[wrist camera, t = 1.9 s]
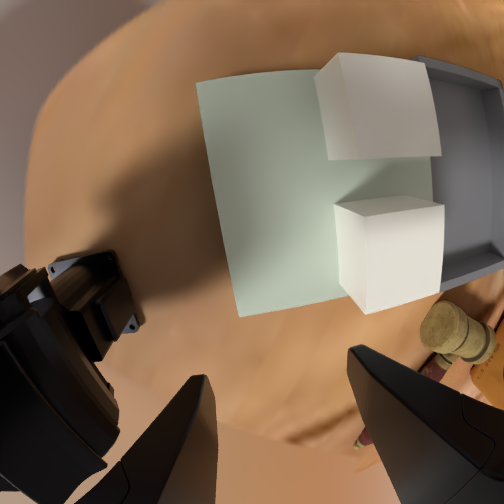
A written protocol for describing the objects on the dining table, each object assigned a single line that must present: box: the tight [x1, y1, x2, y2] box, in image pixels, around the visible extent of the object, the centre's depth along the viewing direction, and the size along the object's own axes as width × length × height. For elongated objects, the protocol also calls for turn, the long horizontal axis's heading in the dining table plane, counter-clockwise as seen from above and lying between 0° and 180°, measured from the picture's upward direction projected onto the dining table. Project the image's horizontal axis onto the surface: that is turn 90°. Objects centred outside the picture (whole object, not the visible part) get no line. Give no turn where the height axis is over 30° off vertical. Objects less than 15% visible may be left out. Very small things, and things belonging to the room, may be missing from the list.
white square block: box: [334, 195, 445, 315], centre depth 14 cm, size 5×5×4 cm
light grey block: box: [314, 52, 442, 160], centre depth 12 cm, size 5×5×4 cm
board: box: [196, 69, 433, 317], centre depth 16 cm, size 14×14×2 cm
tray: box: [409, 55, 504, 294], centre depth 16 cm, size 11×17×3 cm, turn 9°
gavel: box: [353, 300, 496, 450], centre depth 23 cm, size 21×5×10 cm
